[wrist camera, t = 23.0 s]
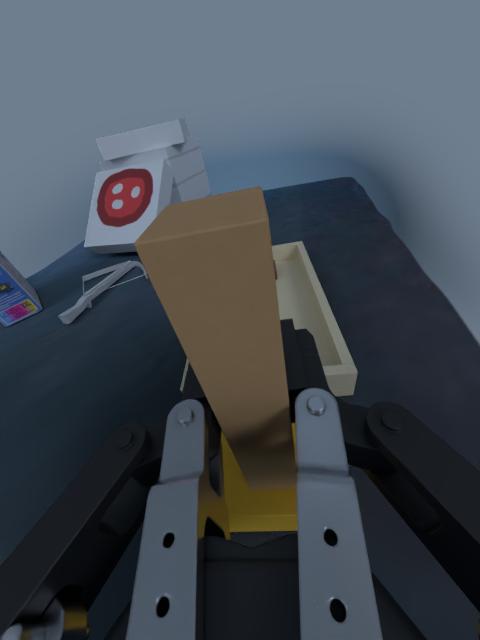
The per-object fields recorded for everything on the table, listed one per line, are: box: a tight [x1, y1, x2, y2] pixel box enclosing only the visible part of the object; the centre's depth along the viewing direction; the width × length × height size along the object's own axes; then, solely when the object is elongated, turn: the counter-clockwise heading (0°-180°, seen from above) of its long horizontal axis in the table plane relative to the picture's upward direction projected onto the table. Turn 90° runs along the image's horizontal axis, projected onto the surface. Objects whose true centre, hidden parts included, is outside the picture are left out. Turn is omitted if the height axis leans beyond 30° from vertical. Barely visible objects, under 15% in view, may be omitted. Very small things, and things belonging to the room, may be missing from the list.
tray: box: [180, 241, 358, 396], centre depth 27 cm, size 22×13×3 cm, turn 179°
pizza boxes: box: [84, 118, 212, 254], centre depth 50 cm, size 19×30×18 cm, turn 165°
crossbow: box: [58, 260, 148, 324], centre depth 38 cm, size 16×13×2 cm
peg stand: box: [134, 187, 298, 532], centre depth 10 cm, size 4×7×16 cm, turn 89°
